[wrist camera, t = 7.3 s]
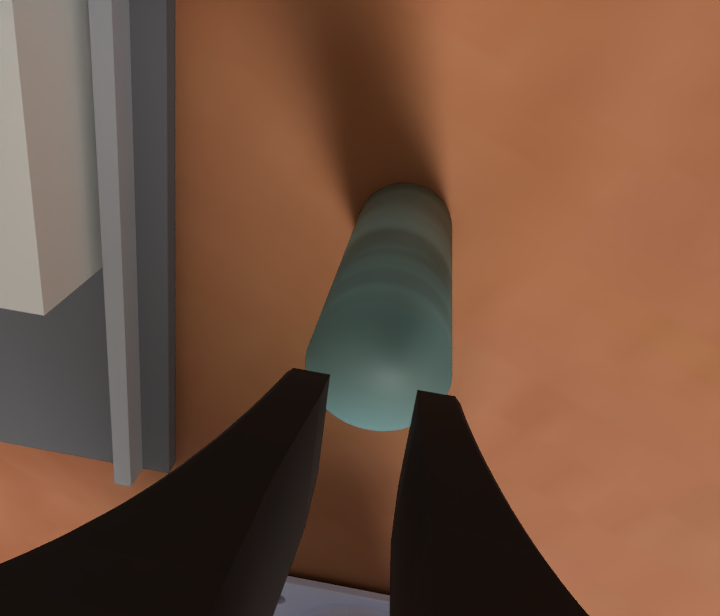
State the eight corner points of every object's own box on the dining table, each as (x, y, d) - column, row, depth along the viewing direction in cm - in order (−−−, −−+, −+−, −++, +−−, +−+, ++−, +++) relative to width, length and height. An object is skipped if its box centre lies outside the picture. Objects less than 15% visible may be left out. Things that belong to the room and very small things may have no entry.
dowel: (442, 279, 20) (437, 442, 13) (352, 264, 21) (299, 417, 13) (460, 191, 19) (465, 318, 12) (363, 176, 19) (312, 293, 12)
